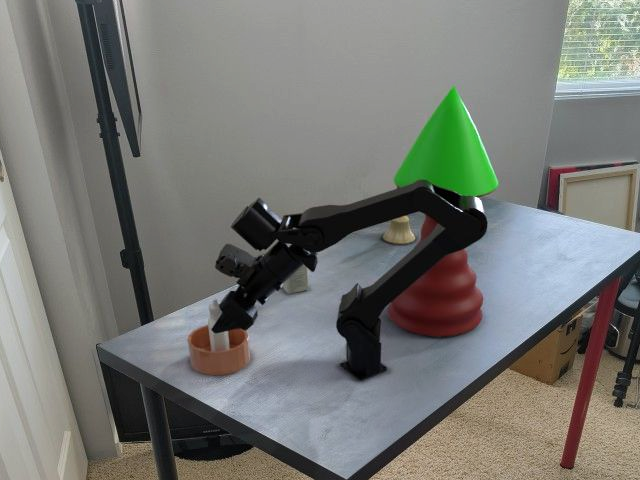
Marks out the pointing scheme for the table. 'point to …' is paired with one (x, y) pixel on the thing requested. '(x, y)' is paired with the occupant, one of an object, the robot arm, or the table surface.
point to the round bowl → (218, 352)
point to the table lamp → (453, 270)
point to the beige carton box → (297, 281)
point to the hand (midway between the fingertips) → (220, 319)
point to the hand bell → (399, 231)
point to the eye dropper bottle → (220, 339)
